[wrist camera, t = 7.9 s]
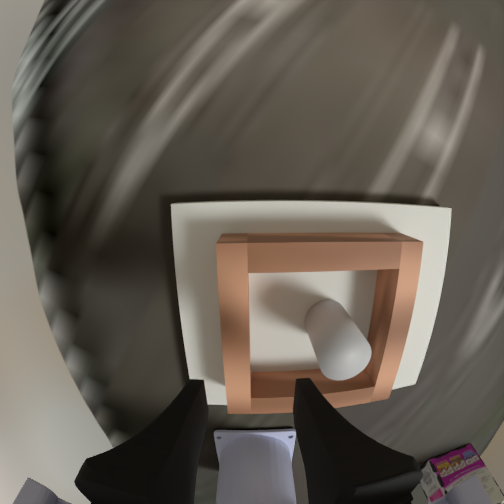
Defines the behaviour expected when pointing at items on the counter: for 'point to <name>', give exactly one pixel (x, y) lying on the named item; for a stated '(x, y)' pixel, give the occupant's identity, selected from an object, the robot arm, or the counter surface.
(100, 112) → the counter surface
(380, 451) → the robot arm
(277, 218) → the hook board
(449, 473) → the candy bar box
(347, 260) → the loop
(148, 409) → the counter surface
